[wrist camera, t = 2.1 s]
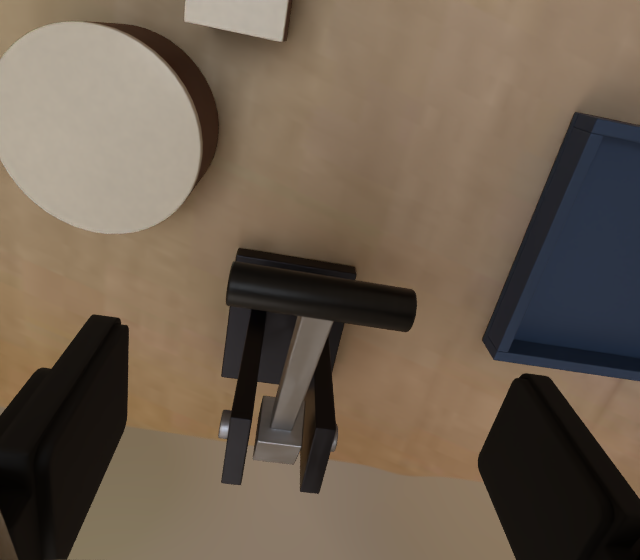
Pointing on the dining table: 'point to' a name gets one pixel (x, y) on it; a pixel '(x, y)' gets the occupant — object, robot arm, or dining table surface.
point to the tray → (579, 261)
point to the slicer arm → (308, 336)
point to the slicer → (278, 374)
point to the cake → (104, 124)
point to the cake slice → (242, 16)
